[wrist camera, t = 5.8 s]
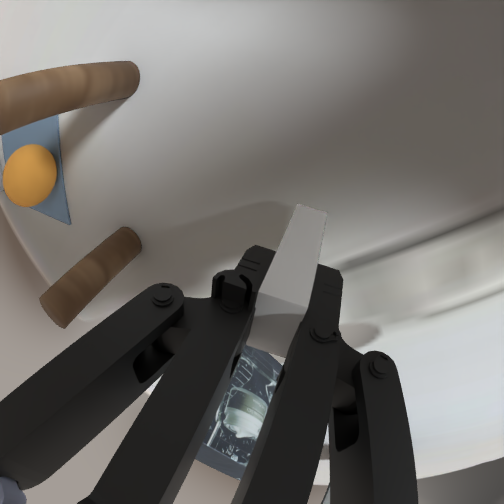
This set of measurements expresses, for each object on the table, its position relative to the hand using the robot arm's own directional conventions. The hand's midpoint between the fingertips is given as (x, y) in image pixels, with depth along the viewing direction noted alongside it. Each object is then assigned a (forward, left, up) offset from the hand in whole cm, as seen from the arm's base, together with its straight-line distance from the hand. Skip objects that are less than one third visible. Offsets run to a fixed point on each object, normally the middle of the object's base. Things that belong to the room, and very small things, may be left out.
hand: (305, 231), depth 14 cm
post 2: (+6, -13, -2) cm, 15 cm away
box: (+17, 0, -2) cm, 17 cm away
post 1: (-6, -13, -2) cm, 15 cm away
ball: (+1, -23, +1) cm, 23 cm away
